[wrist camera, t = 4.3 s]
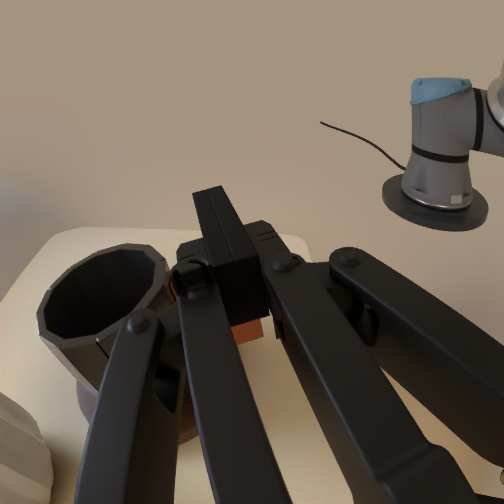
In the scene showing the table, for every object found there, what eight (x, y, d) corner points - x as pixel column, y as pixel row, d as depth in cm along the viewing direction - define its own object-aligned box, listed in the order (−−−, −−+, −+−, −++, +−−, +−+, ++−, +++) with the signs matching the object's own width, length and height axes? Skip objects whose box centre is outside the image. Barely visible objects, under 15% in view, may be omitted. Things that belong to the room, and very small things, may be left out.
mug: (141, 303, 32) (106, 232, 26) (269, 328, 26) (252, 238, 21) (77, 390, 22) (17, 321, 17) (214, 456, 17) (157, 396, 11)
